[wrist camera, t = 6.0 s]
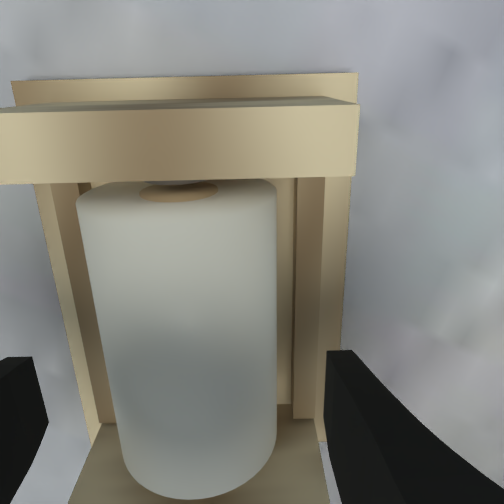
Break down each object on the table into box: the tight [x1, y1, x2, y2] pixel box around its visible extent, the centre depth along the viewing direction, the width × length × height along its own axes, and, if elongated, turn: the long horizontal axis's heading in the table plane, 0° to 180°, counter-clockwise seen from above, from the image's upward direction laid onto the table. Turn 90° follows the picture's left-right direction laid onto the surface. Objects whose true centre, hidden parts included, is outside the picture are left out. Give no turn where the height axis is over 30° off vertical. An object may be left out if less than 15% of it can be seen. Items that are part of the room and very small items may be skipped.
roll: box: [76, 178, 277, 500], centre depth 12 cm, size 8×5×5 cm, turn 1°
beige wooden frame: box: [0, 73, 360, 504], centre depth 13 cm, size 10×14×6 cm
